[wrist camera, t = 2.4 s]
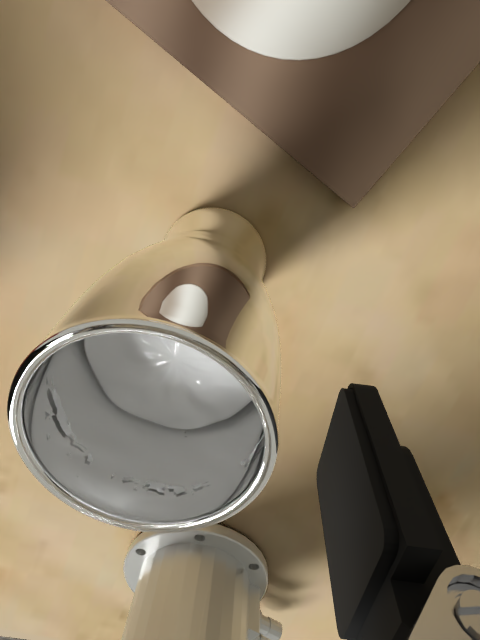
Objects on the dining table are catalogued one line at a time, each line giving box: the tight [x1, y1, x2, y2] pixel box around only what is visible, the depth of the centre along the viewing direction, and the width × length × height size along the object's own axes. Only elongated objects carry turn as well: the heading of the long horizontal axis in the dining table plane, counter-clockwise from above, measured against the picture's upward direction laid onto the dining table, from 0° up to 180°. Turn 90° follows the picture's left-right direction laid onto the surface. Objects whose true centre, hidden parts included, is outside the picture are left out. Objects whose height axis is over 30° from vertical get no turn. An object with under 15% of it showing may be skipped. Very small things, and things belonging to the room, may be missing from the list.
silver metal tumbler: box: [7, 207, 282, 533], centre depth 16 cm, size 7×7×15 cm
